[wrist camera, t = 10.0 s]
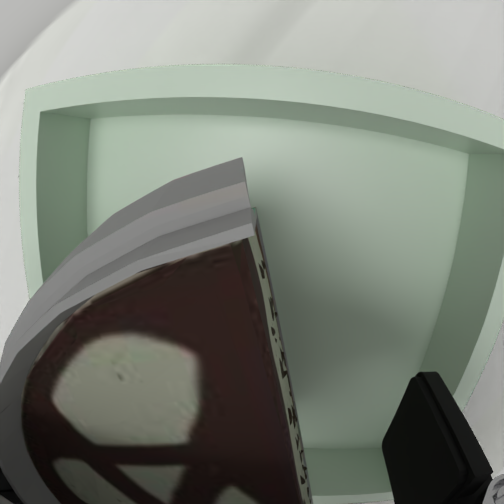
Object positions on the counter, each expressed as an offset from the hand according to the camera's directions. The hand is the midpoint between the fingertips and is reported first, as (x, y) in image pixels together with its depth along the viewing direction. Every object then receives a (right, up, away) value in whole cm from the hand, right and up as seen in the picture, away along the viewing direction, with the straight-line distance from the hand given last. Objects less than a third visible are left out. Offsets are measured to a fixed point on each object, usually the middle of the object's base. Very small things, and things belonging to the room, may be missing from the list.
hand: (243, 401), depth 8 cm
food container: (-2, +1, +5) cm, 6 cm away
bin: (+1, +1, +6) cm, 6 cm away
